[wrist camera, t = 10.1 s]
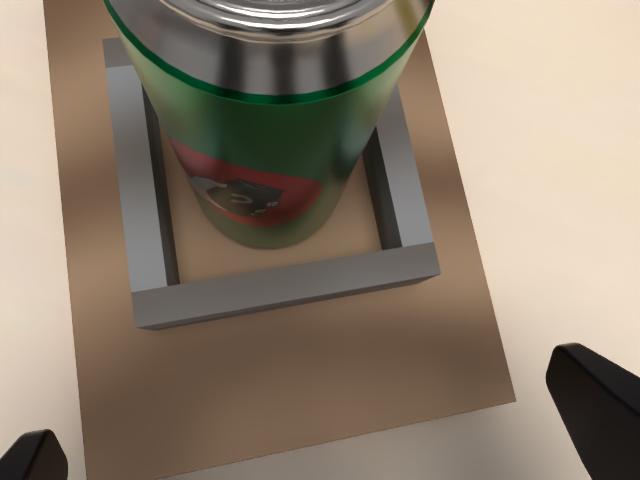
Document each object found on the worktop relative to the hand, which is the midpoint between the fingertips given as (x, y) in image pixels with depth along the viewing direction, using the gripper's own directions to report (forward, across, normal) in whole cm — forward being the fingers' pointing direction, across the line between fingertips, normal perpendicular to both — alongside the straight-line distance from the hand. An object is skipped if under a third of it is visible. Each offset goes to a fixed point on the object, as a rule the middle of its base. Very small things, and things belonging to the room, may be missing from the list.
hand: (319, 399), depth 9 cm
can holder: (+11, 0, +2) cm, 11 cm away
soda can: (+10, 0, +1) cm, 11 cm away
